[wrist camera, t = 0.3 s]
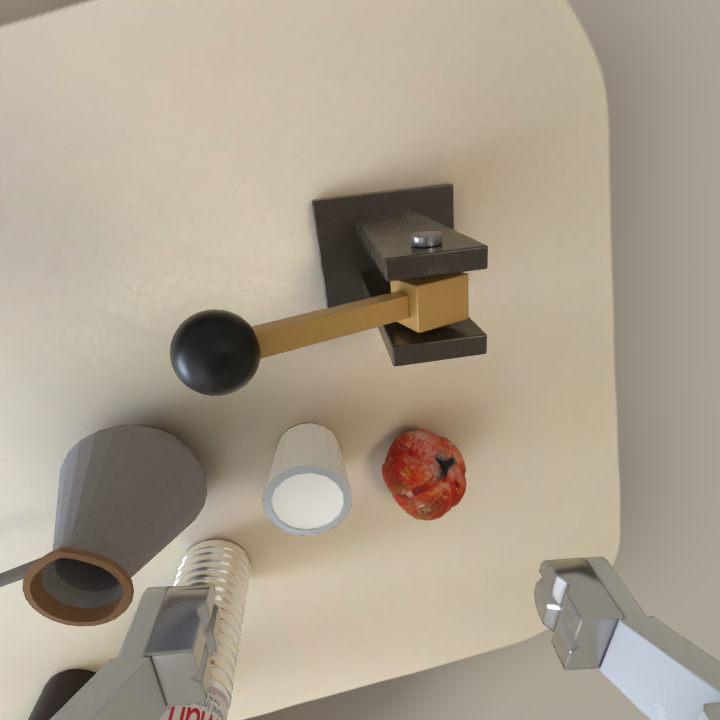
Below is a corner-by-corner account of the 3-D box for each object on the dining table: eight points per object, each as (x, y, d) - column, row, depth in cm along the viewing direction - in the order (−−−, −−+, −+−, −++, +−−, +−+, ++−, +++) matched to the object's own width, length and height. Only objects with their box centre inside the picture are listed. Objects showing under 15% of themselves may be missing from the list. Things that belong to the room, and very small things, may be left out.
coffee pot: (198, 402, 38) (133, 539, 24) (225, 507, 42) (183, 671, 29) (-68, 431, 36) (-295, 592, 23) (-10, 536, 41) (-170, 722, 27)
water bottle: (264, 570, 46) (217, 967, 23) (205, 594, 47) (104, 1005, 24) (229, 526, 43) (139, 927, 21) (168, 552, 44) (13, 971, 21)
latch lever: (179, 386, 19) (188, 421, 16) (156, 311, 18) (161, 335, 15) (434, 316, 24) (475, 333, 21) (431, 252, 22) (476, 262, 20)
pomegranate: (430, 471, 46) (504, 450, 38) (408, 539, 42) (486, 531, 34) (374, 431, 44) (439, 401, 36) (345, 498, 40) (412, 479, 32)
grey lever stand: (327, 306, 35) (337, 404, 21) (311, 199, 32) (311, 229, 18) (450, 289, 36) (543, 374, 21) (448, 183, 33) (555, 199, 18)
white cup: (353, 469, 42) (361, 524, 36) (282, 487, 42) (277, 545, 36) (335, 408, 39) (340, 456, 33) (259, 427, 39) (249, 479, 33)
